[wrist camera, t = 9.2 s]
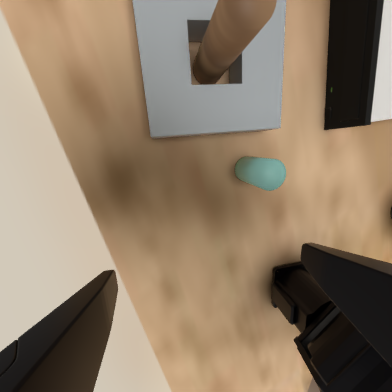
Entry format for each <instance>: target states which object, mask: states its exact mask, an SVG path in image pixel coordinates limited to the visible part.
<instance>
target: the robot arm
mask: <svg viewBox="0 0 392 392" xmlns="http://www.w3.org/2000/svg"><path fill="white" fill-rule="evenodd" d="M117 292H118V284H117V279H116V273H115V271H114V270H108V271H103V272H102V273H101V274H100V275H98V276H97V277H96V278H94V279H93V280H92V281H91V282H89V283H88V284H87V285H86V286H84V287H83V288H82V289H80V290H79V291H78V292H76V293H75V294H74V295H73V296H71V297H70V298H69V299H68V300H66V301H65V302H64V303H62V304H61V305H60V306H59V307H57V308H56V309H55V310H53V311H52V312H51V313H50V314H49V315H47V316H46V317H44V318H43V319H42V320H41V321H39V322H38V323H37V324H36V325H34V326H33V327H32V328H30V329H29V330H28V331H27V332H25V333H24V334H23V335H21V336H20V337H19V338H18V340H15V341H14V342H12V343H11V344H10V345H9V346H7V347H6V348H5V349H4V350H2V351H1V352H0V392H93V390H94V386H95V383H96V380H97V376H98V373H99V369H100V366H101V362H102V359H103V355H104V352H105V349H106V345H107V341H108V338H109V335H110V331H111V326H112V321H113V315H114V310H115V303H116V298H117ZM272 305H273V306H274V307H275V308H277V307H278V308H279V309H280V311H281V312H282V313H283V315H284V316H285V317H286V319H287V320H288V321H289V323H290V324H292V325H293V324H295V326H296V327H297V328H298V330H299V331H300V332H301V334H300V335H299V336H298V337H296V338H295V339H294V342H295V343H296V345H297V349H298V350H299V352H300V354H301V356H302V358H303V360H304V361H305V363H306V365H307V367H308V369H309V370H310V372H311V374H312V376H313V378H314V380H315V381H316V383H317V385H318V387H319V390H320V392H392V264H391V263H387V262H383V261H380V260H376V259H372V258H368V257H364V256H360V255H357V254H353V253H349V252H345V251H341V250H338V249H334V248H330V247H326V246H322V245H318V244H315V243H305V244H303V245H302V250H301V262H299V263H294V264H289V265H284V266H279V267H275V268H274V270H273V284H272Z"/></svg>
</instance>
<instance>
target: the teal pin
mask: <svg viewBox="0 0 392 392" xmlns="http://www.w3.org/2000/svg"><path fill="white" fill-rule="evenodd" d="M235 174H236V176H237V178H238V179H240V180H242V181H244V182H247V183H249V184H252V185H254V186H257V187H259V188H262V189H264V190H267V191H271V190H275V189H277V188H278V187H280V186H281V185H282V183H283V182H284V180H285V177H286V169H285V166H284V164H283V163H282V162H281V161H279V160H277V159H269V158H259V157H248V156H247V157H243V158H241V159H240V160H239V161H238V162H237V163H236V166H235Z"/></svg>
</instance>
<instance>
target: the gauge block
mask: <svg viewBox="0 0 392 392" xmlns="http://www.w3.org/2000/svg"><path fill="white" fill-rule="evenodd" d="M217 2H218V0H133V8H134V15H135V23H136V30H137V37H138V45H139V52H140V60H141V67H142V75H143V82H144V90H145V97H146V105H147V112H148V119H149V127H150V134H151V138H152V139H154V138H168V137H182V136H197V135H211V134H225V133H240V132H254V131H266V130H272V129H278V128H281V105H282V82H283V60H284V37H285V14H286V0H277V3H276V7H275V10H274V13H273V15H272V17H271V18H270V20H269V21H268V22H267V23H266V24H265V26H264V27H263V28H262V29H261V30H260V31H259V33H258V34H257V35H256V36H255V37H254V39H253V40H252V41H251V42H250V43H249V44H248V46H247V47H246V48H245V49H244V50H243V51H242V53H241V54H240V55H239V56H238V57H237V59H236V60H235V61H234V62H233V63H232V64H231V66H230V67H229V84H211V85H192V83H191V69H190V55H189V42H202V40H203V38H204V35H205V32H206V30H207V27H208V25H209V22H210V20H211V17H212V14H213V12H214V9H215V7H216V4H217Z"/></svg>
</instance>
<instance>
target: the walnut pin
mask: <svg viewBox="0 0 392 392" xmlns="http://www.w3.org/2000/svg"><path fill="white" fill-rule="evenodd" d="M276 3H277V0H218V2H217V4H216V7H215V9H214V12H213V14H212V17H211V20H210V22H209V25H208V27H207V30H206V32H205V35H204V38H203V40H202V43H201V45H200V48H199V50H198V53H197V56H196V58H195V61H194V64H193V72H194V76H195V78H196V79H197V80H198V82H200V83H201V84H203V85H211V84H215V83H216V82H217V81H218V80H219V79H220V77H221V76H222V75H223V74H224V73H225V71H226V70H227V69H228V68H229V67H230V66H231V64H232V63H233V62H234V61H235V60H236V59H237V57H238V56H239V55H240V54H241V53H242V51H243V50H244V49H245V48H246V47H247V46H248V44H249V43H250V42H251V41H252V40H253V39H254V37H255V36H256V35H257V34H258V33H259V31H260V30H261V29H262V28H263V27H264V26H265V24H266V23H267V22H268V21H269V20H270V18H271V17H272V15H273V13H274V10H275V7H276Z"/></svg>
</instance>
